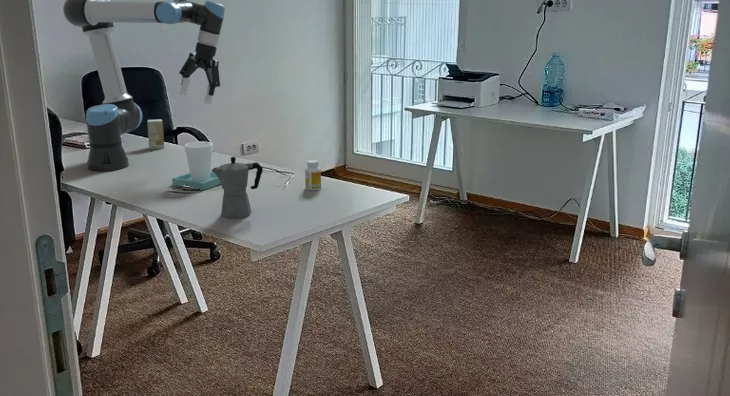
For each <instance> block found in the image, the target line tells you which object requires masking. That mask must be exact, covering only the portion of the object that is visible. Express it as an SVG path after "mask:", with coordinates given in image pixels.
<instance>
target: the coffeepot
mask: <svg viewBox="0 0 730 396" xmlns="http://www.w3.org/2000/svg"><path fill="white" fill-rule="evenodd" d="M236 159H237V157H235V156H231V157H230V162H229V163H225V164H220V166H217V167H214V168H211V171H212V172H214V173H215V174H216V175H217V177H218V178H219V180H220V181H221V184H220V185H221V188H222V189H223V195H222V204H221V212H220V213H221V214H220V215H221V216H222V217H223V218H226V219H232V220H233V219H243V218H247V217H249V216H250V215H252V214H251V213H252V209H251V203H250V199H249V196H248V193H247V187H248V181H249V180H248V179H249V171H251V170H255V169H256V174H255V178H254V184H253V185H252V186H250V189H251V190H256V189H258V187H259V184H260V180H261V178H262V174H263V171H264V170H263V169H264V168H263V167H262V165H261V164H259V163H258V162H249V163H248V162H247V163H242V162H236Z"/></svg>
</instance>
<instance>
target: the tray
mask: <svg viewBox="0 0 730 396" xmlns="http://www.w3.org/2000/svg"><path fill="white" fill-rule="evenodd" d="M171 182H172V183H171V185H172V186H175V185H179V186H178V187H180V186H181V185H185V186H190V187H194V188H197V189H196V190H198V189H200V190H199V191H206V190H208V189H211V188H213V187H216V186H217V187H218V186H220V185H221V181H220V180H219V178H218V177H217V175H216V174H215V173H214V172H212V170H211V175H210V180H208V181H205V182H197V181H192V179H191V174H190V172H186V173H184V174H181V175H178V176H175V177H172V178H171Z"/></svg>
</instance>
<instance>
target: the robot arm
mask: <svg viewBox="0 0 730 396" xmlns="http://www.w3.org/2000/svg"><path fill="white" fill-rule="evenodd" d="M62 8H63V11H62V12H63V15H64V17H65V19H66V20H67V21H68V22H69V23H70V24H71V25H72V26H75V27H80V28H81V29H82V33H83V34H84V35H86V36H87V37H88V39H89V43H90V47H91V50H92V54H93V58H94V62H95V66H96V70H97V72H98V73H97V74H98V77H99V80H100V83H101V87H102V92H103V95H104V100H103V101H102V104H99V105H97V104H96V105H94V106H91V107H89V108H88V109H86V111H85V121H86V126H87V135H88V140H89V141H88V143H89V151H88V152H89V153H88V157H87V158H88V159H87V161H86V165H87V169H88V170H90V171H94V172H106V171H116V170H121V169H124V168H127V167H128V166H129V158H128V157H127V154H126V152H125V150H124V147H123V142H122V135H124V134H127V133H131V132H133V131H134V130H136V129H137V128H138V127H140V125H141V124H142V121H143V111H142V110H141V107H140V106H139V105H137V103H135V102H134V99H133V96H132V95H130V94H129V92H128V91H127V87H126V84H125V83H126V82H125V80H124V79H125V78H124V75H123V71H122V68H121V65H120V60H119V57H118V53H117V50H116V44H115V41H114V38H113V34H112V32H113V31H114V29H115V26H114V23H118V24H119V23H123V24H124V23H126V24H128V23H129V24H130V23H131V24H164V25H166V24H167V25H174V24H180V23H183V24H184V23H190V24H194V25H198V26H199V32H198V36H197V42H196V43H195V49H194V52H196V53H194V52H189V55H188V58H187V59H186V61H185V62H184V64H183V65H182V67H181V68H180V70H179V75H181V77H182V79H181V83H180V85H181V87H180V90H179V91H180V93H179V95H183V96H187V95H188V91H189V86H190V81H191V79H190V78H191V76H192V74H194V73H195V72H196V71H197V70H198V69H199V68H200V69H203V71H204V72H205V75H206V79H207V82H208V86H207V87H206V91H205V97H204V101H203V103H204V104H207V105H211V104H212V100H213V99H212V98H213V96H214V95H215V89H216V88H217V87H218V88H220V87H221V81H220V70H219V64H220V61H219V60H218V59H217V60H216V59H214V57H215V56H216V54H217V50H218V48H217V46H218V43H219V38H220V34H221V31H222V30H221V29H222V26H223V22H224V20H225V19H224V18H225V11H226V7H225V6H224V5H223V4H220V3H217V2H214V1H210V0H205V3H204V4H200V3H197V2H193V1H190V0H172V1H147V0H146V1H134V0H133V1H130V0H128V1H126V0H124V1H123V0H65V1H64V4H63V7H62Z"/></svg>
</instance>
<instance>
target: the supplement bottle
mask: <svg viewBox="0 0 730 396" xmlns="http://www.w3.org/2000/svg"><path fill="white" fill-rule="evenodd" d="M319 163H320V162H319V160H318V159H316V160H315V159H309V160H307V161H306V167H305V168H304V178H305V179H304V180H305V182H304V184H305V189H306V190H307V191H319V190H320V189H322V175H321V174H322V171H321V170H322V169H321V167H320V166H319V165H320V164H319Z"/></svg>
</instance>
